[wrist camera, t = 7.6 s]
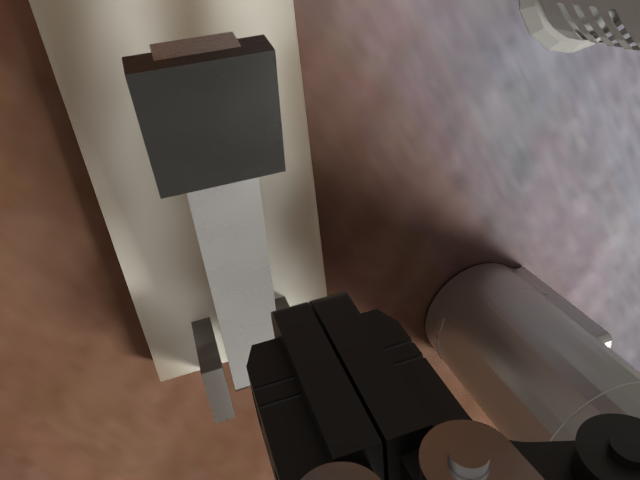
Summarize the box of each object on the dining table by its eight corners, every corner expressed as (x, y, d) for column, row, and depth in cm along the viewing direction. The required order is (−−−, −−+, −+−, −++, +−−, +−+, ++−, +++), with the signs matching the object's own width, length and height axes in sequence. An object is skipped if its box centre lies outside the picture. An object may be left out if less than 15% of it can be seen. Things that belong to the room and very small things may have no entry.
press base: (276, -53, 27) (319, -54, 21) (322, 314, 39) (357, 377, 34) (28, -22, 25) (-1, -15, 19) (158, 362, 37) (166, 439, 31)
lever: (258, 27, 20) (275, 49, 18) (293, 357, 34) (304, 386, 32) (120, 48, 19) (124, 75, 17) (215, 381, 32) (223, 412, 31)
